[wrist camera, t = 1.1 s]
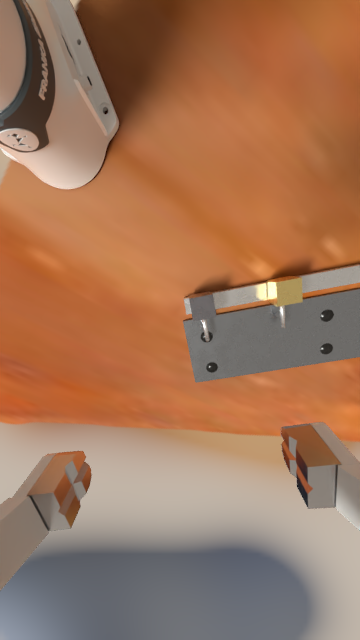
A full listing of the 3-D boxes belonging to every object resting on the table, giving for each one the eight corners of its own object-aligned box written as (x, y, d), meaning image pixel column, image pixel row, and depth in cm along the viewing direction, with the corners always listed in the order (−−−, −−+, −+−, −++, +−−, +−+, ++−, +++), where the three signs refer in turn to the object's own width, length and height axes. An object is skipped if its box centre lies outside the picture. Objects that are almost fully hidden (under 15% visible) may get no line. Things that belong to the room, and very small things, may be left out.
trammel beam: (183, 294, 37) (183, 299, 33) (372, 258, 35) (402, 257, 30) (191, 338, 40) (192, 348, 35) (368, 307, 37) (395, 313, 32)
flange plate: (183, 320, 39) (183, 321, 38) (376, 285, 36) (379, 285, 35) (195, 380, 43) (195, 382, 42) (370, 353, 40) (373, 354, 39)
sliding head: (267, 280, 34) (275, 282, 31) (290, 275, 34) (302, 277, 31) (270, 328, 37) (279, 334, 34) (292, 324, 37) (303, 330, 33)
